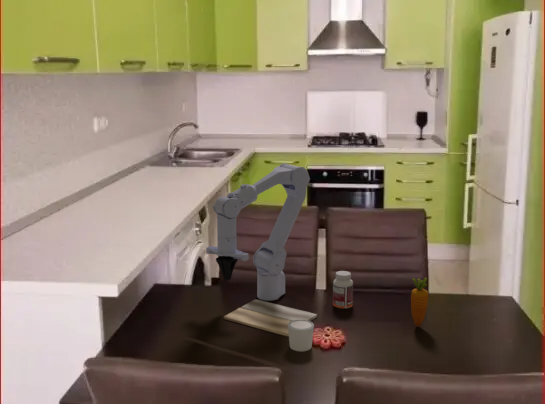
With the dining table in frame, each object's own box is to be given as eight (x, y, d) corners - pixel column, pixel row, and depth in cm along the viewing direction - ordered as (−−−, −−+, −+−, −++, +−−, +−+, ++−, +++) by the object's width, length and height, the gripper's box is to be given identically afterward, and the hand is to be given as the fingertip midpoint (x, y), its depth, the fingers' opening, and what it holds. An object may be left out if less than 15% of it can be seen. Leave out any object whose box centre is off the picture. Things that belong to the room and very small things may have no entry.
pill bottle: (348, 302, 194) (349, 269, 192) (355, 309, 188) (356, 275, 186) (329, 304, 193) (330, 270, 190) (336, 311, 187) (337, 277, 184)
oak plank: (239, 312, 185) (239, 307, 185) (302, 328, 174) (302, 323, 173) (223, 321, 179) (223, 316, 178) (288, 339, 167) (288, 334, 167)
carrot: (405, 327, 175) (408, 277, 172) (414, 322, 179) (417, 273, 176) (421, 332, 172) (424, 281, 169) (429, 326, 176) (433, 277, 173)
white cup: (300, 341, 166) (300, 317, 164) (319, 349, 161) (319, 324, 160) (282, 348, 161) (282, 324, 160) (301, 357, 156) (301, 332, 155)
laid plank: (255, 303, 192) (255, 299, 192) (316, 319, 181) (317, 314, 180) (240, 311, 186) (240, 307, 185) (303, 328, 174) (303, 323, 174)
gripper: (199, 235, 184) (200, 278, 187) (238, 243, 176) (239, 287, 179) (214, 230, 190) (214, 272, 193) (252, 237, 182) (252, 281, 185)
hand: (227, 279), depth 186 cm, fingers closed
